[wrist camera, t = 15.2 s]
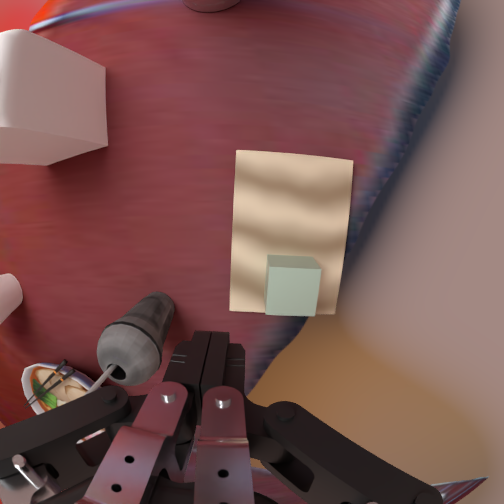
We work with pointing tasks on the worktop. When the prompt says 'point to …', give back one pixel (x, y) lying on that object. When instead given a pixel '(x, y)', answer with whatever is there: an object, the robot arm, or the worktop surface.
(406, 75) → the worktop surface
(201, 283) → the worktop surface
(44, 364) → the ramen bowl
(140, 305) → the beverage cup
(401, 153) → the worktop surface
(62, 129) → the milk
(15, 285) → the foam cup
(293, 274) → the grey-green block
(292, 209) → the post board
